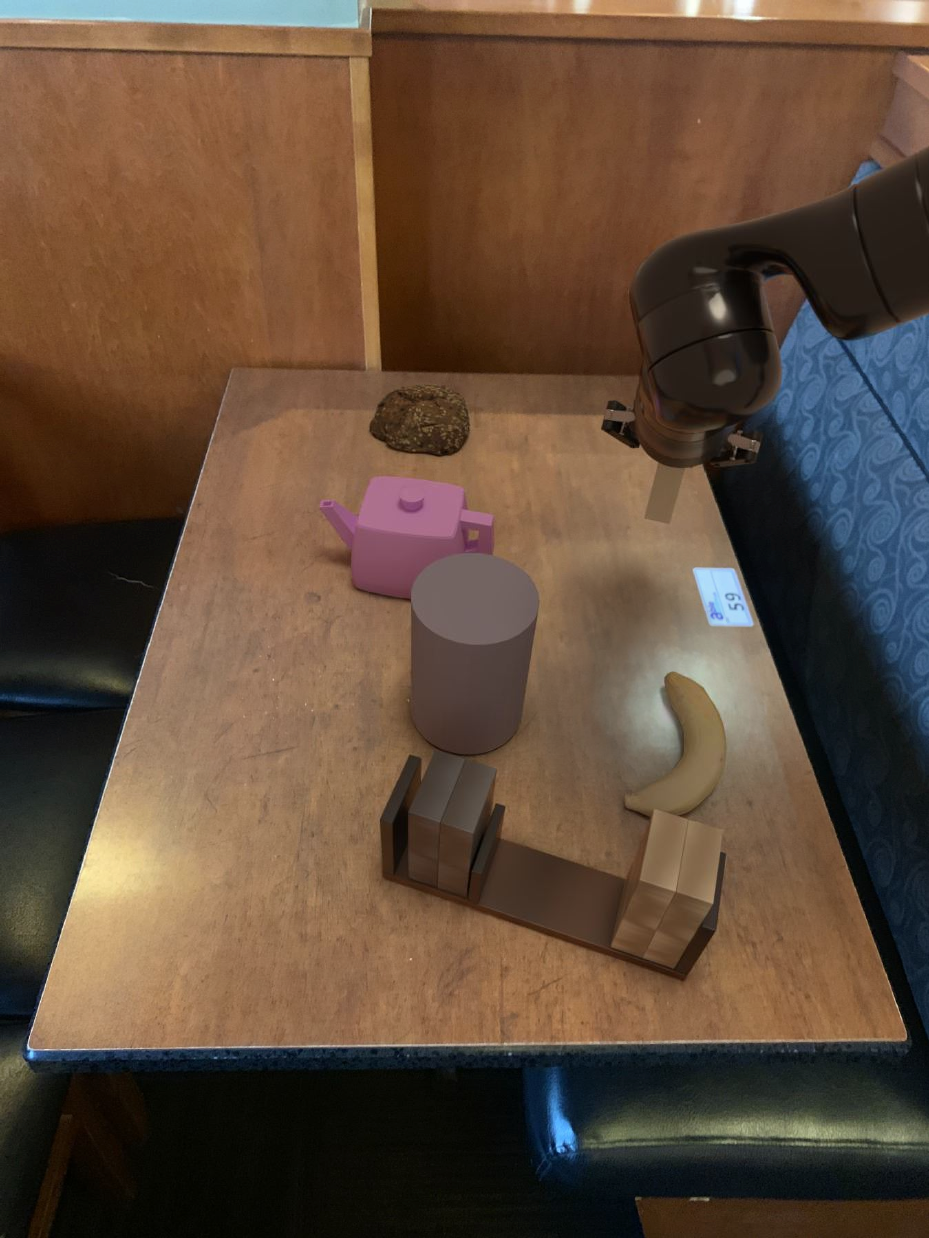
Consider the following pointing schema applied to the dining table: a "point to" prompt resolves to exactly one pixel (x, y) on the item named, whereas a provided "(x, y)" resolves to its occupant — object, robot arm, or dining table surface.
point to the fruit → (687, 753)
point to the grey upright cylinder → (471, 650)
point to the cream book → (664, 493)
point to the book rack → (553, 870)
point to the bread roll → (422, 419)
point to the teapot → (406, 531)
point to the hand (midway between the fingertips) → (675, 453)
